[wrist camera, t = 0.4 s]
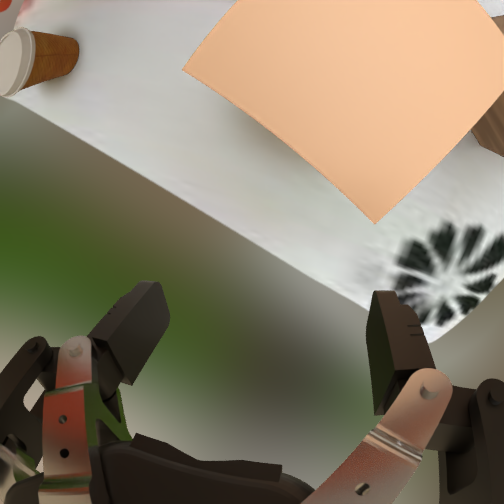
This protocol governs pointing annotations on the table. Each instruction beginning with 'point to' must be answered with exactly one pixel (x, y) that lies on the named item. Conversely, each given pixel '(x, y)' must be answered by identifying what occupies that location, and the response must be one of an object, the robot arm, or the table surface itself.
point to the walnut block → (492, 117)
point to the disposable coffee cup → (33, 59)
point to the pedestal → (358, 83)
